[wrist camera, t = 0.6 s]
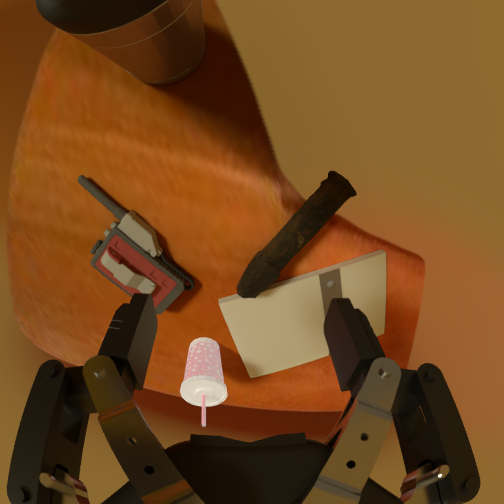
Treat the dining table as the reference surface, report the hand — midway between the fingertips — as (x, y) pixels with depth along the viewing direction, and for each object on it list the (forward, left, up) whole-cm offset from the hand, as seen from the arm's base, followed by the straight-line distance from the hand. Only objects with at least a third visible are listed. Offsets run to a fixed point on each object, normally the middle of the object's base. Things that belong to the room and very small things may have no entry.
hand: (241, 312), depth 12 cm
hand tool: (+6, +6, -22) cm, 23 cm away
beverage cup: (+20, -10, -21) cm, 31 cm away
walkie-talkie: (+1, -14, -22) cm, 26 cm away
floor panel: (+20, +7, -21) cm, 30 cm away
